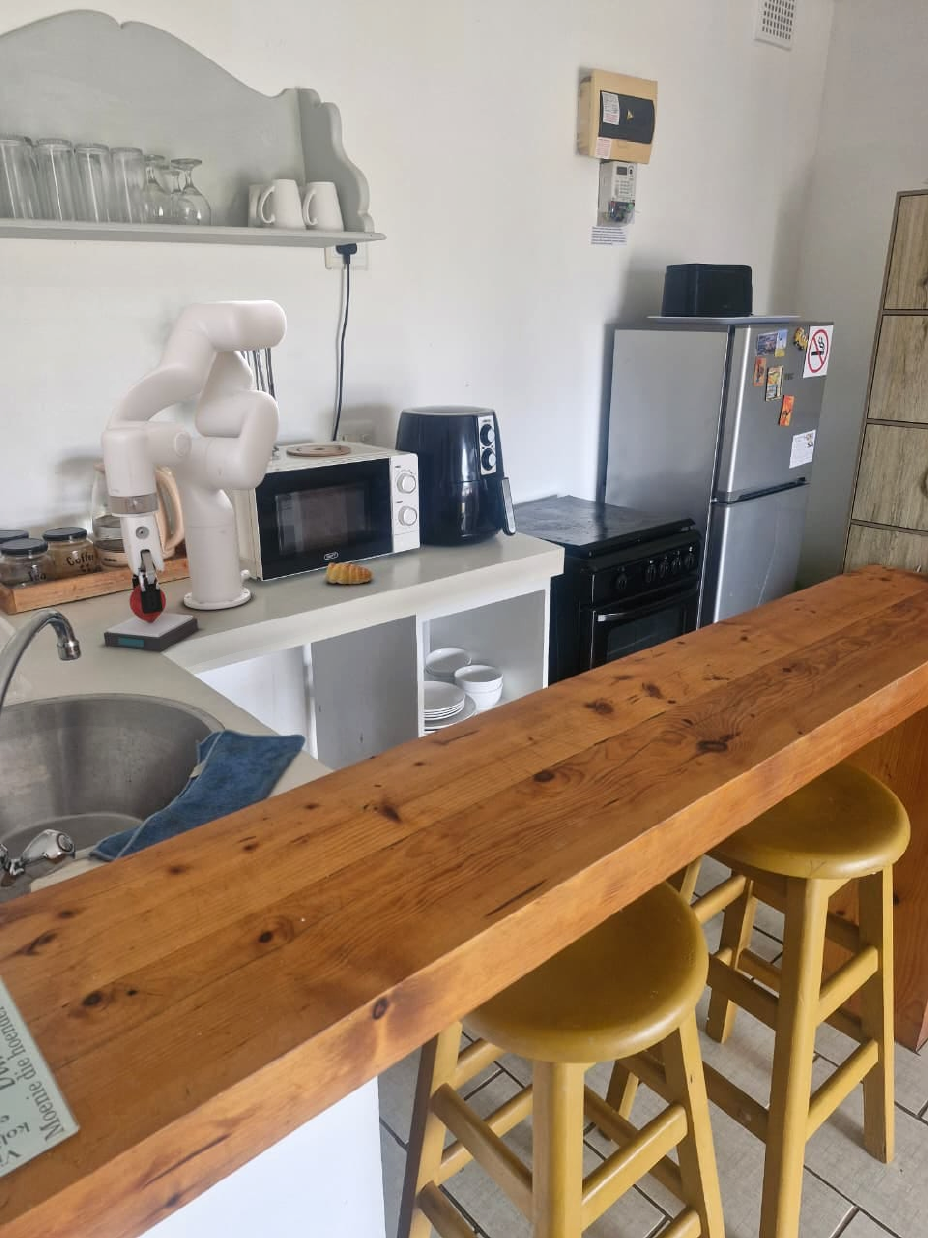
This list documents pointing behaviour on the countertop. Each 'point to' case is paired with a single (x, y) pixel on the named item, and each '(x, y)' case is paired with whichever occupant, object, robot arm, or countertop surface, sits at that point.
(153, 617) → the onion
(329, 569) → the pastry
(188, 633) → the scale
